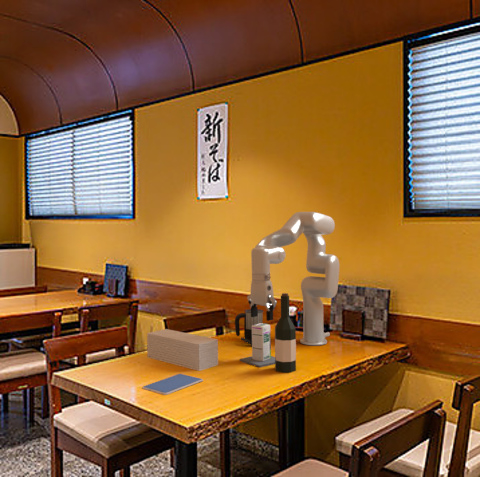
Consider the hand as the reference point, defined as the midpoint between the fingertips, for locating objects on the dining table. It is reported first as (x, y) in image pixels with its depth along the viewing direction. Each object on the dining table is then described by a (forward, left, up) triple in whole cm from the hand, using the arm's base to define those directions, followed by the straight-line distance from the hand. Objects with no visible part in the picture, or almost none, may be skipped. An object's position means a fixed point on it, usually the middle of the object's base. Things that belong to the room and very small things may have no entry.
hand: (262, 318), depth 216 cm
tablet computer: (+45, +2, -19) cm, 48 cm away
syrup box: (0, 0, -17) cm, 17 cm away
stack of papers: (+25, -22, -18) cm, 39 cm away
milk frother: (-18, -28, -18) cm, 38 cm away
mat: (+1, 0, -18) cm, 18 cm away
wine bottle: (+1, +15, -18) cm, 24 cm away
